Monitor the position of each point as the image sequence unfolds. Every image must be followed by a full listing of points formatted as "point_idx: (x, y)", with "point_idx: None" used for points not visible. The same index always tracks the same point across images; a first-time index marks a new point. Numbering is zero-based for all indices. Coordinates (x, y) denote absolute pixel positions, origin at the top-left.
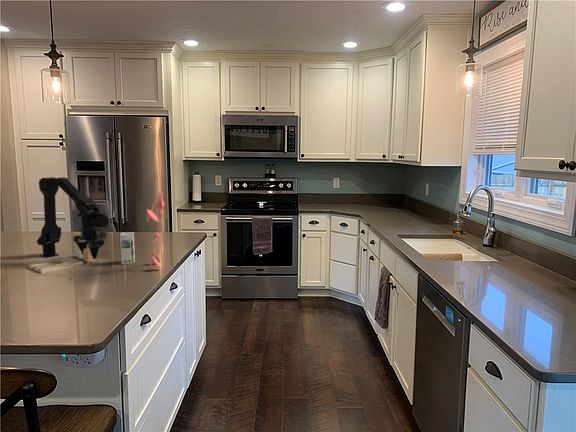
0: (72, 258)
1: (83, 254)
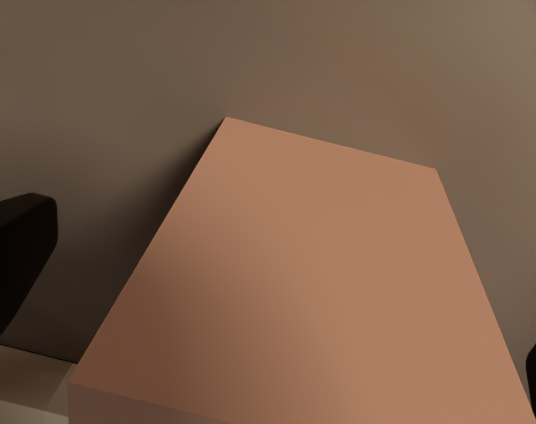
0: (64, 420)
1: (29, 285)
